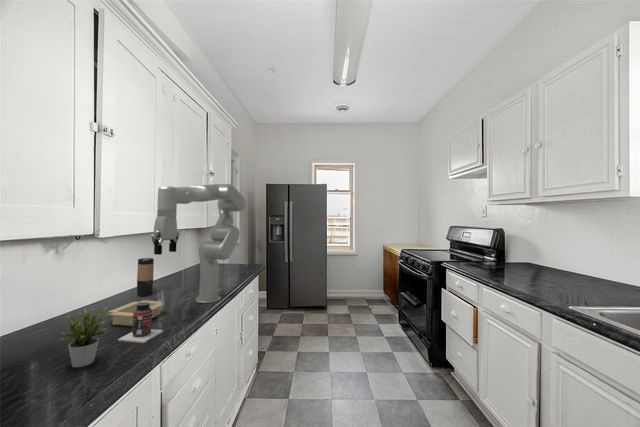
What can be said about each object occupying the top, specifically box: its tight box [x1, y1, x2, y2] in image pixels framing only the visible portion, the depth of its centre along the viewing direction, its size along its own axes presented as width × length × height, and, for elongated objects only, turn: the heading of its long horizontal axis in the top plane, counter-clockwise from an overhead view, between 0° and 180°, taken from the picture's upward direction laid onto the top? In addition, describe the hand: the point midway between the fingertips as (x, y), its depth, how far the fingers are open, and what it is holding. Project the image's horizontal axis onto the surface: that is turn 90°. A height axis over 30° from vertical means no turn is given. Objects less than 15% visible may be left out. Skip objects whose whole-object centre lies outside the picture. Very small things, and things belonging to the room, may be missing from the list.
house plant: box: [58, 306, 116, 368], centre depth 86 cm, size 14×14×16 cm
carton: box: [107, 300, 166, 327], centre depth 121 cm, size 19×15×5 cm
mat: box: [117, 328, 164, 344], centre depth 105 cm, size 10×10×1 cm
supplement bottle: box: [132, 302, 153, 337], centre depth 105 cm, size 6×6×11 cm
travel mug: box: [136, 257, 155, 298], centre depth 157 cm, size 8×8×20 cm
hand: (165, 253), depth 125 cm, fingers open, 9 cm apart
